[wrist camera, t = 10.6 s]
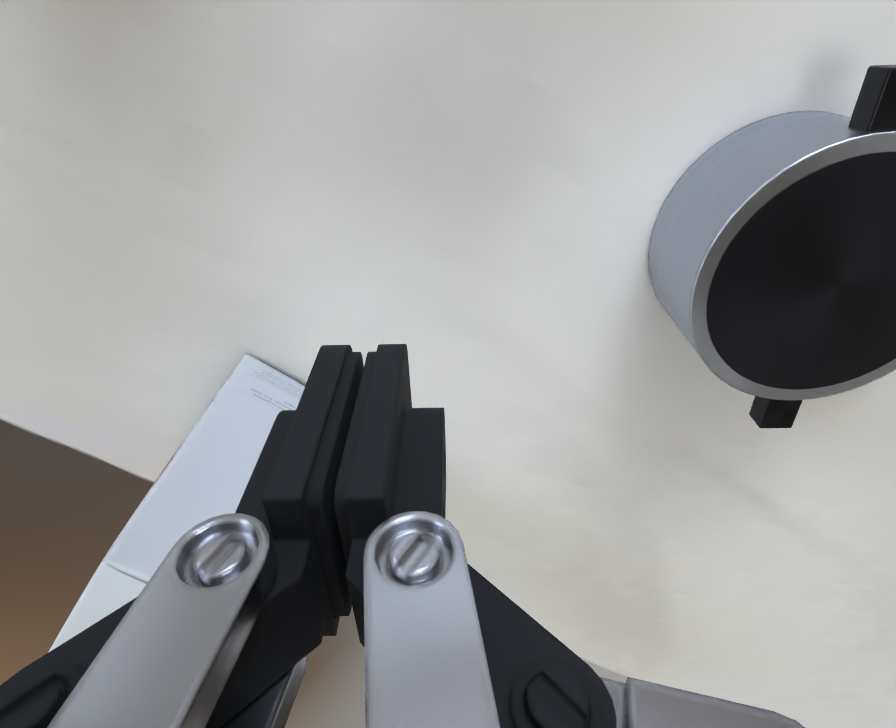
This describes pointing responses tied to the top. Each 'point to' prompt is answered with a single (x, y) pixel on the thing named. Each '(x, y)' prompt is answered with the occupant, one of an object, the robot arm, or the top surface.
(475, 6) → the top surface
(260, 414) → the white product box
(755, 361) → the pot
